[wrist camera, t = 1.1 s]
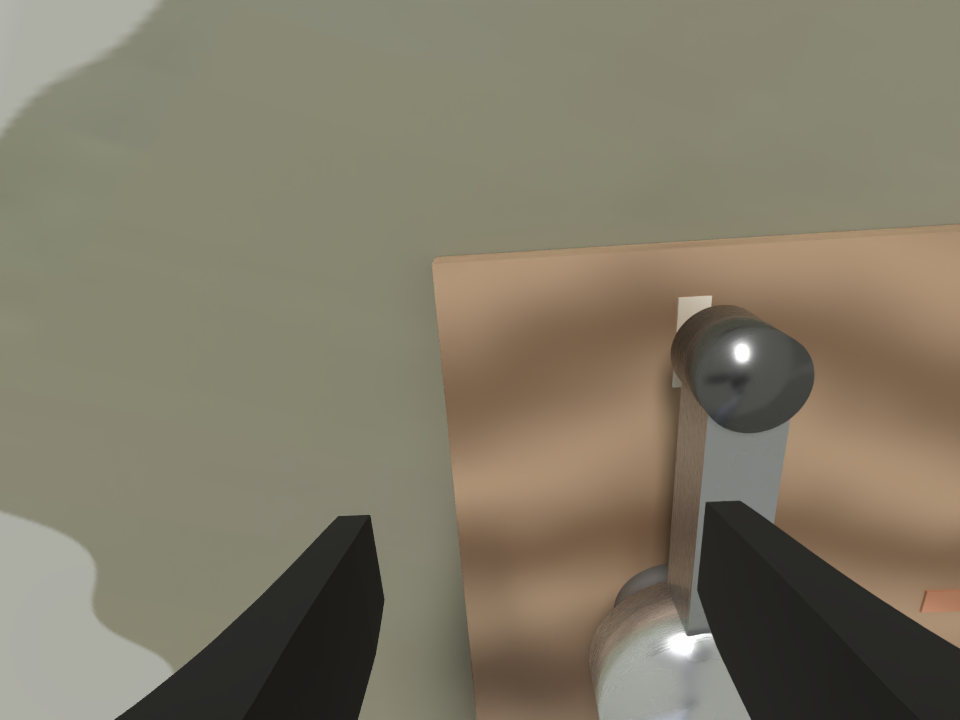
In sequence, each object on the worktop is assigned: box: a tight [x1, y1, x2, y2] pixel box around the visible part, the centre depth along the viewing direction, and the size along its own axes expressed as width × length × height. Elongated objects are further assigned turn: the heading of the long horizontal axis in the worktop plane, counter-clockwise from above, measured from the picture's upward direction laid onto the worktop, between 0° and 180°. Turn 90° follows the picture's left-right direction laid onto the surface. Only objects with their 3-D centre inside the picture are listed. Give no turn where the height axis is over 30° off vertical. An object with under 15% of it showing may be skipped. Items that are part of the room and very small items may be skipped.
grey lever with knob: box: [589, 305, 815, 720], centre depth 16 cm, size 16×7×2 cm, turn 4°
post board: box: [432, 224, 960, 720], centre depth 19 cm, size 22×22×3 cm
